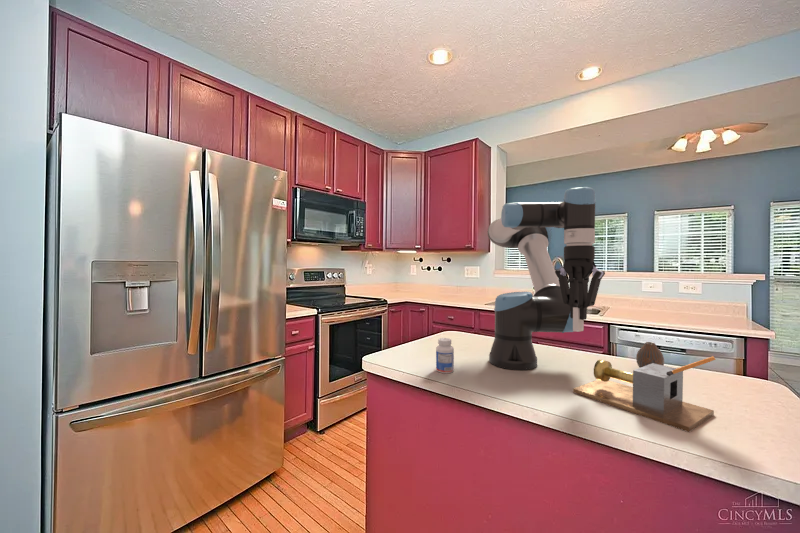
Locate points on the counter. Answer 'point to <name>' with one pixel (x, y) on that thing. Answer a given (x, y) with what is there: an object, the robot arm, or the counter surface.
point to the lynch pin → (610, 372)
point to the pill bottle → (444, 356)
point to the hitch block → (650, 397)
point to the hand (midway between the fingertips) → (578, 330)
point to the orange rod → (693, 364)
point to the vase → (649, 355)
